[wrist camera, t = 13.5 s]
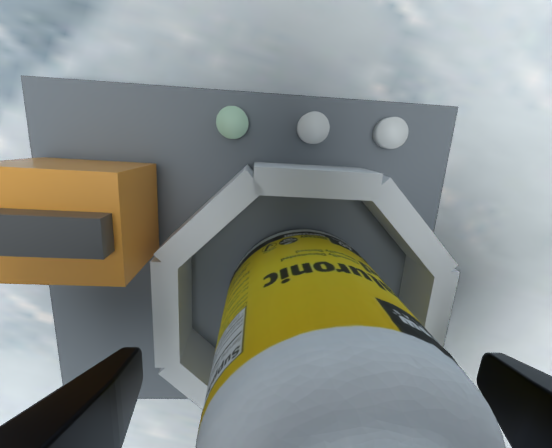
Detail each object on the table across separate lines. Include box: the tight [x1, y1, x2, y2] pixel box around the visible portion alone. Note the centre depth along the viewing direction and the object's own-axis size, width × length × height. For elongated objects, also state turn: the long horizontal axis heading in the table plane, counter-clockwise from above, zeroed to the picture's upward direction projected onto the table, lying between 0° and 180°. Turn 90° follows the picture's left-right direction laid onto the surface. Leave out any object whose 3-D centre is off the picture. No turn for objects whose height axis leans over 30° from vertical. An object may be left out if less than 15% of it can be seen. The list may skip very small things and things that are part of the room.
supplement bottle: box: [196, 229, 506, 448], centre depth 7 cm, size 5×5×10 cm
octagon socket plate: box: [21, 75, 460, 410], centre depth 12 cm, size 12×14×4 cm
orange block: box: [0, 157, 159, 287], centre depth 9 cm, size 3×4×4 cm
